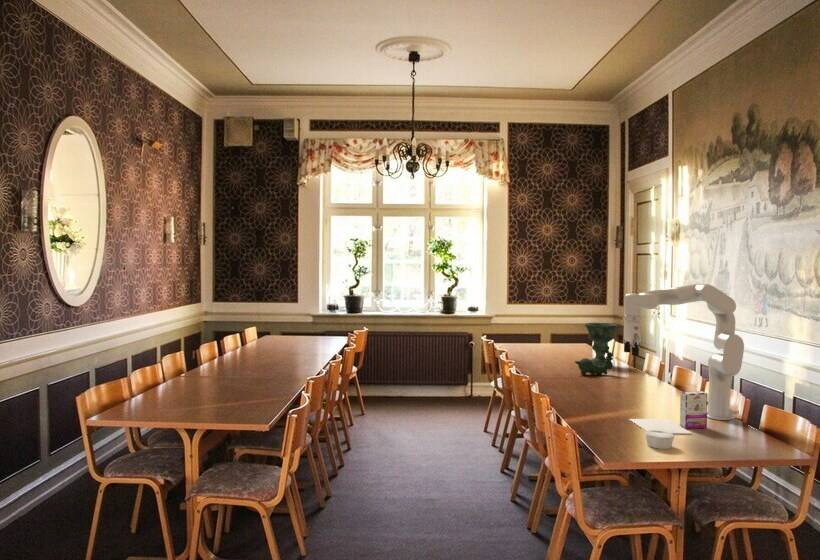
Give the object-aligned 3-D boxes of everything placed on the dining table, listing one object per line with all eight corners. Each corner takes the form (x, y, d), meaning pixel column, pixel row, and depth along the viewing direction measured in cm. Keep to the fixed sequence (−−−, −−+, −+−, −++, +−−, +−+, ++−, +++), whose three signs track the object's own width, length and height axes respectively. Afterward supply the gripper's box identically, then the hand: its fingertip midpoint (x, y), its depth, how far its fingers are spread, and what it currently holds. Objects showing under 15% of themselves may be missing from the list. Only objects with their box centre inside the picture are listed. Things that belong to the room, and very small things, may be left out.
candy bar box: (700, 425, 300) (701, 390, 300) (707, 428, 295) (708, 393, 295) (678, 426, 298) (680, 391, 297) (685, 429, 293) (686, 393, 292)
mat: (667, 420, 308) (667, 419, 308) (691, 434, 284) (691, 433, 284) (628, 420, 307) (628, 418, 307) (650, 434, 283) (650, 433, 283)
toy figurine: (607, 376, 428) (570, 372, 426) (610, 348, 427) (574, 344, 425) (612, 379, 419) (575, 375, 416) (616, 350, 418) (578, 346, 416)
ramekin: (666, 442, 272) (667, 430, 272) (678, 450, 261) (678, 437, 261) (640, 442, 272) (641, 429, 271) (651, 450, 261) (651, 437, 260)
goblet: (623, 367, 454) (624, 325, 453) (600, 369, 443) (601, 326, 442) (599, 362, 473) (600, 322, 472) (577, 364, 462) (578, 323, 461)
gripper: (647, 320, 303) (646, 356, 304) (632, 317, 320) (631, 351, 321) (631, 320, 303) (630, 356, 303) (618, 317, 320) (616, 351, 321)
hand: (631, 353), depth 312 cm, fingers open, 9 cm apart
